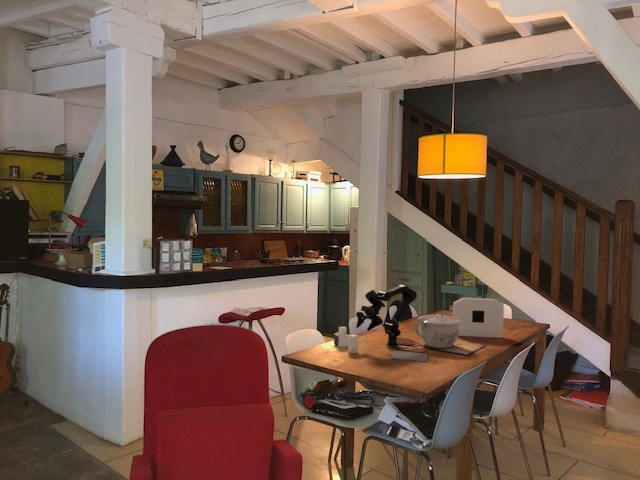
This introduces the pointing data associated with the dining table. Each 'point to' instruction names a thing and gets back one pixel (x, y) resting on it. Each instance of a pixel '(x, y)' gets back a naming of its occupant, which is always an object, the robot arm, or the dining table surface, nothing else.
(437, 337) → the chamber pot
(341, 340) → the grey bottle
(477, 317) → the grey boxy block
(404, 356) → the mat
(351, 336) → the canister
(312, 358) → the dining table surface
